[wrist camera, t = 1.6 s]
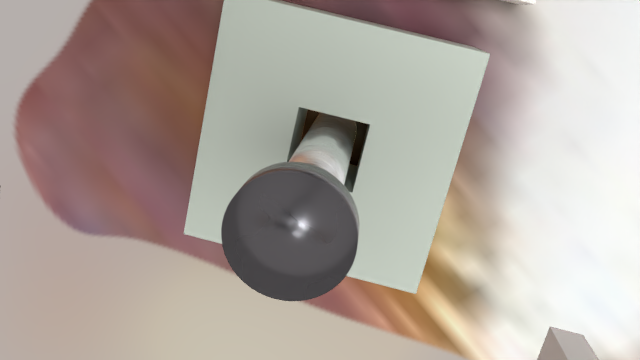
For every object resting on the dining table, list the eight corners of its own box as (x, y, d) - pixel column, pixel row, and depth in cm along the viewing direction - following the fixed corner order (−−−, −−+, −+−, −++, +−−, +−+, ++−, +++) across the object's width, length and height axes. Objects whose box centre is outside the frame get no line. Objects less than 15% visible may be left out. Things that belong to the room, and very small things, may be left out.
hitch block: (250, -7, 31) (225, -10, 26) (474, 46, 31) (490, 54, 26) (211, 202, 35) (183, 233, 30) (411, 254, 34) (415, 293, 29)
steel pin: (307, 85, 32) (234, 156, 17) (379, 103, 32) (372, 191, 16) (292, 154, 33) (210, 282, 18) (361, 172, 33) (339, 315, 18)
